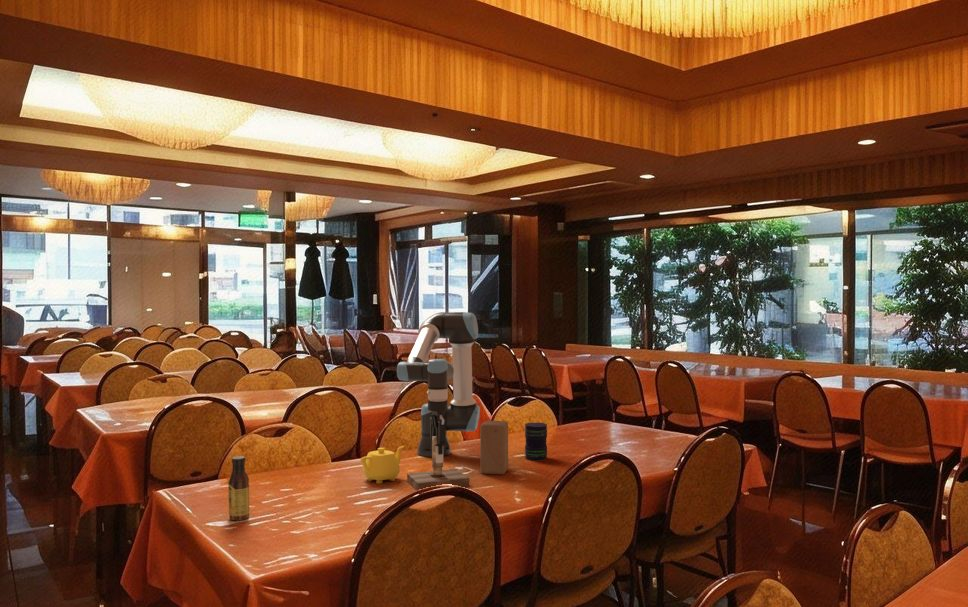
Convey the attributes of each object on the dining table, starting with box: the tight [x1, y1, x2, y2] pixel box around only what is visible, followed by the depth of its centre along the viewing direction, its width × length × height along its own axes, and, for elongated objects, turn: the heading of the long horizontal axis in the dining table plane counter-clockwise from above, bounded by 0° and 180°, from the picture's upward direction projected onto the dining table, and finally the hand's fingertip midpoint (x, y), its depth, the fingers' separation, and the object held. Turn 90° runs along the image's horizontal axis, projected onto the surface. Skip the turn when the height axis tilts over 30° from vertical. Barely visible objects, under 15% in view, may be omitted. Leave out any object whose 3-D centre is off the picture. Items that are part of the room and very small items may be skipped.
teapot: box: [360, 445, 405, 485], centre depth 269 cm, size 13×20×12 cm
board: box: [406, 468, 470, 491], centre depth 263 cm, size 15×20×3 cm
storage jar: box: [524, 422, 548, 462], centre depth 305 cm, size 10×10×15 cm
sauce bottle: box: [228, 455, 250, 521], centre depth 222 cm, size 7×6×20 cm
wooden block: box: [479, 420, 509, 475], centre depth 281 cm, size 10×10×20 cm
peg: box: [431, 436, 444, 475], centre depth 263 cm, size 4×4×14 cm
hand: (437, 461), depth 263 cm, fingers closed on peg, 4 cm apart
